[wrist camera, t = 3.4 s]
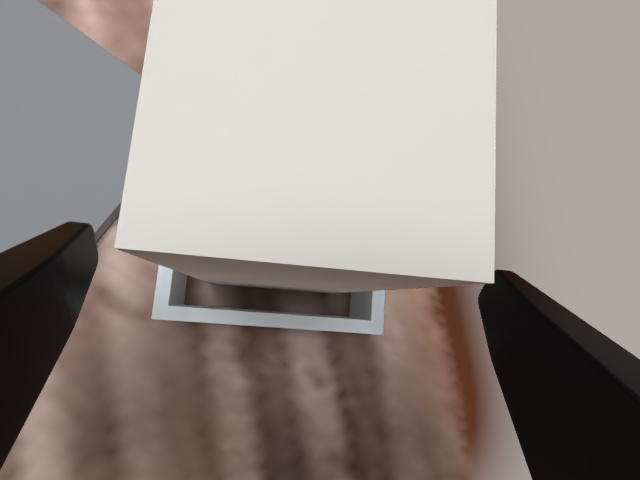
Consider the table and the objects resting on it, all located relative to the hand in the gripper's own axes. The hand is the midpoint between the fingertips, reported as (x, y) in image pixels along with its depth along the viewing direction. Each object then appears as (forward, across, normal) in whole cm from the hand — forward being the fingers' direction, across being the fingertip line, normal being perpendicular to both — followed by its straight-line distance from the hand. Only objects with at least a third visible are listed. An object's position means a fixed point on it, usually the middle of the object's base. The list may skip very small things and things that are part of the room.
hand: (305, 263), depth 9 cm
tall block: (+8, 0, +5) cm, 10 cm away
